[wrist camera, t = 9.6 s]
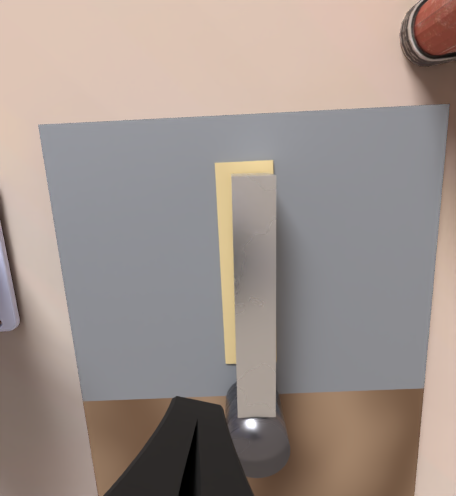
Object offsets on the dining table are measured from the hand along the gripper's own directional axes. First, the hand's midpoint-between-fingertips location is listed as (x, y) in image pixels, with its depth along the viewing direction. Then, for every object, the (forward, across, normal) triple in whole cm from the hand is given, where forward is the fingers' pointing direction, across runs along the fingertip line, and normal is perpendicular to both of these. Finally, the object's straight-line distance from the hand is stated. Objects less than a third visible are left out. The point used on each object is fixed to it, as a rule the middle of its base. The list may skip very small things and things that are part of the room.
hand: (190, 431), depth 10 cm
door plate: (+9, -1, -2) cm, 10 cm away
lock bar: (+8, -2, -1) cm, 8 cm away
